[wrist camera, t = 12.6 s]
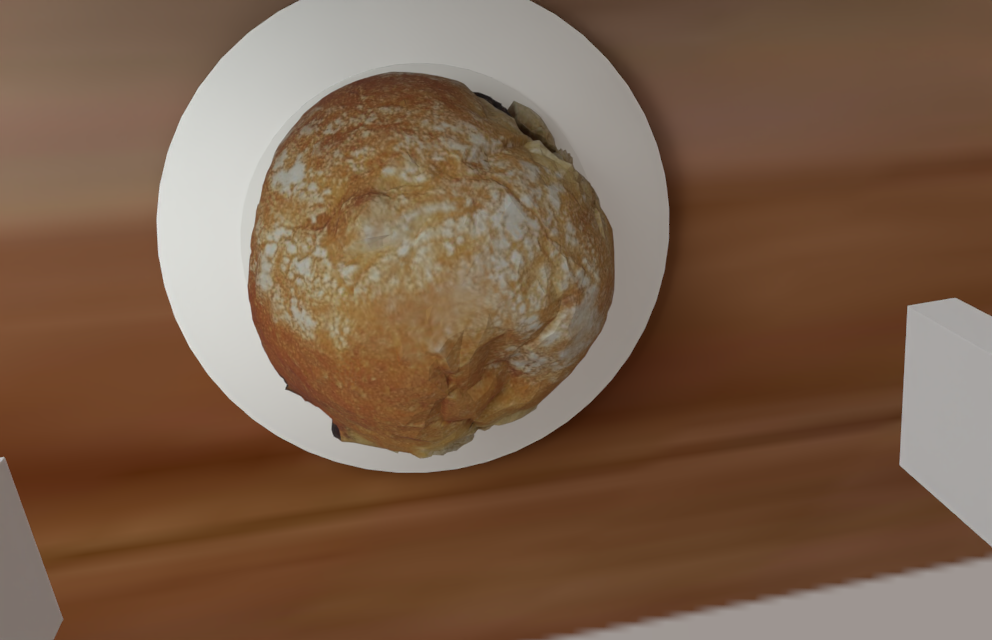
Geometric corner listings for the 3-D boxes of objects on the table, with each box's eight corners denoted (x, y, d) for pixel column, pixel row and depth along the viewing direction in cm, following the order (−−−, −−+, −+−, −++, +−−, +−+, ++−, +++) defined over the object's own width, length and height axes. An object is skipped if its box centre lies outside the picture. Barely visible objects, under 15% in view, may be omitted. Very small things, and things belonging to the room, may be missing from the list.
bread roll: (591, 194, 30) (718, 124, 22) (501, 492, 28) (606, 525, 21) (308, 75, 28) (342, -49, 20) (189, 393, 26) (177, 391, 18)
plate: (260, -121, 24) (255, -129, 22) (738, 99, 28) (756, 104, 26) (103, 373, 28) (90, 391, 26) (542, 507, 31) (550, 528, 30)
